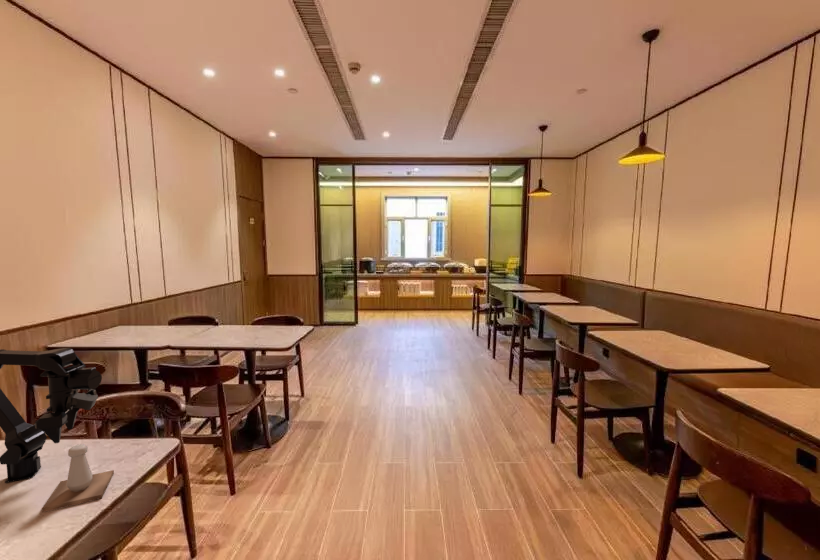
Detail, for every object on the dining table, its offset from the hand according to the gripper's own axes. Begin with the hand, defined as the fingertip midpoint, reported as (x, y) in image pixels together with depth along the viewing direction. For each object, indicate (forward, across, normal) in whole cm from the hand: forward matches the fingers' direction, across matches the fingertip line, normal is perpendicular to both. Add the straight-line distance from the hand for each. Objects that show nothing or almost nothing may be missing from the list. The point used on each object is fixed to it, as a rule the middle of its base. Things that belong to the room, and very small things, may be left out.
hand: (64, 435), depth 116 cm
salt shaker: (+12, -13, -8) cm, 19 cm away
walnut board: (+13, -13, -8) cm, 20 cm away
